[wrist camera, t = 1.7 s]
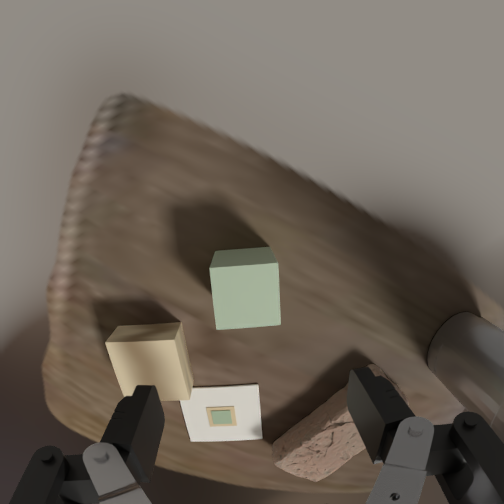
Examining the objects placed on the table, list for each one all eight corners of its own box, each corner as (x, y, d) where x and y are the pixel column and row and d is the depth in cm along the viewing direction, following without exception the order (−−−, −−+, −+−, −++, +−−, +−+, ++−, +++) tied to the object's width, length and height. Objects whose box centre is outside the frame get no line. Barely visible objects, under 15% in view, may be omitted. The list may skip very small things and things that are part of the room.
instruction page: (258, 383, 32) (258, 386, 31) (262, 437, 33) (262, 439, 33) (176, 387, 31) (176, 389, 31) (191, 440, 33) (190, 442, 33)
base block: (181, 321, 30) (174, 339, 26) (194, 377, 31) (189, 400, 27) (118, 324, 30) (105, 342, 26) (135, 379, 31) (125, 400, 27)
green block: (269, 246, 28) (278, 262, 23) (272, 297, 30) (280, 324, 24) (215, 250, 28) (209, 267, 22) (220, 301, 29) (216, 329, 24)
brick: (369, 358, 32) (384, 381, 27) (402, 389, 33) (418, 411, 29) (267, 440, 34) (270, 466, 30) (309, 461, 36) (314, 485, 31)
